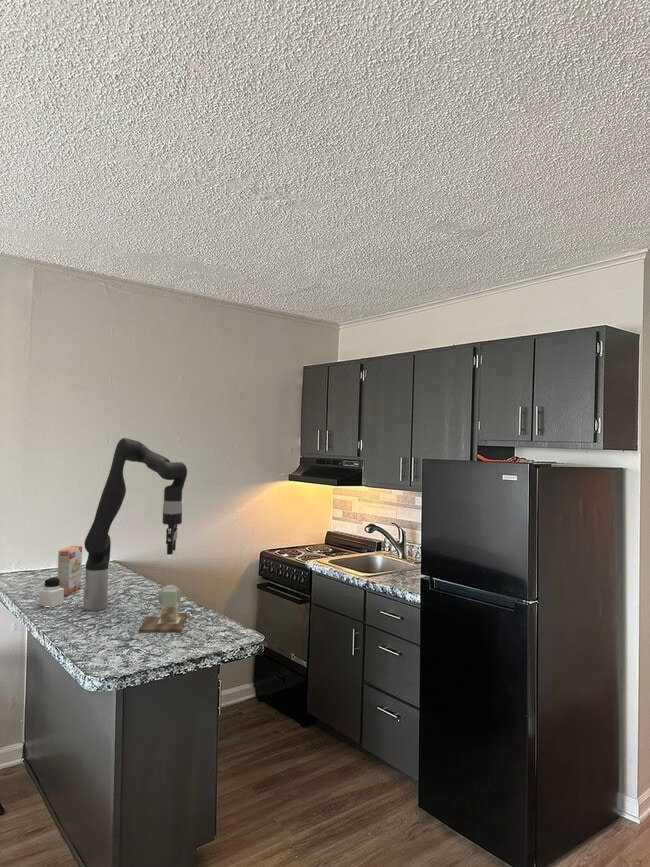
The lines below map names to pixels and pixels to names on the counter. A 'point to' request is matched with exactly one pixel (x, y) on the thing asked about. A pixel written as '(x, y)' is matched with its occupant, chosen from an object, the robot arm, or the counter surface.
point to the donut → (160, 596)
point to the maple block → (169, 614)
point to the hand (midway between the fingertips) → (171, 552)
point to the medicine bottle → (51, 593)
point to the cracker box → (70, 568)
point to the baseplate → (162, 624)
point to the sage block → (169, 597)
